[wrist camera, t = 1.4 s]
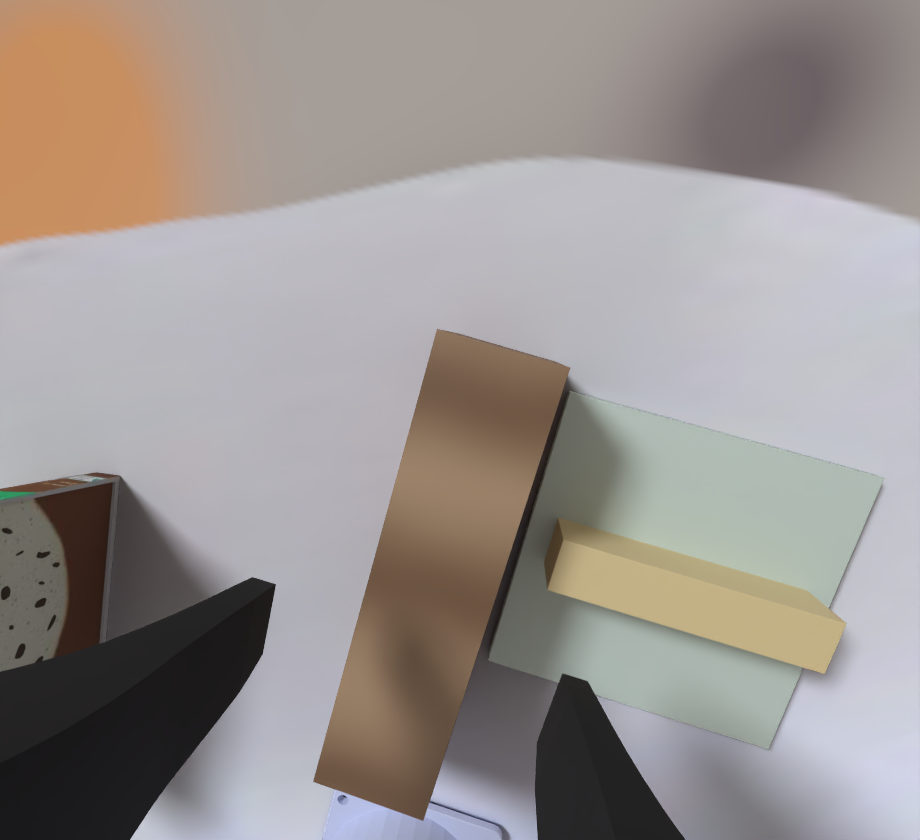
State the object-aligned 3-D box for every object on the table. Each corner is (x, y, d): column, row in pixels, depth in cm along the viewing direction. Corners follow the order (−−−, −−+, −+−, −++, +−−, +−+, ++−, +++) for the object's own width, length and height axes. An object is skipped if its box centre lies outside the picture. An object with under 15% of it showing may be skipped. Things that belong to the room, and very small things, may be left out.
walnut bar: (447, 699, 23) (423, 820, 17) (364, 671, 23) (313, 781, 17) (554, 361, 20) (569, 367, 14) (459, 333, 21) (437, 329, 15)
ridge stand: (761, 738, 21) (800, 800, 18) (488, 652, 22) (484, 699, 19) (872, 474, 19) (936, 497, 16) (568, 390, 20) (577, 398, 17)
